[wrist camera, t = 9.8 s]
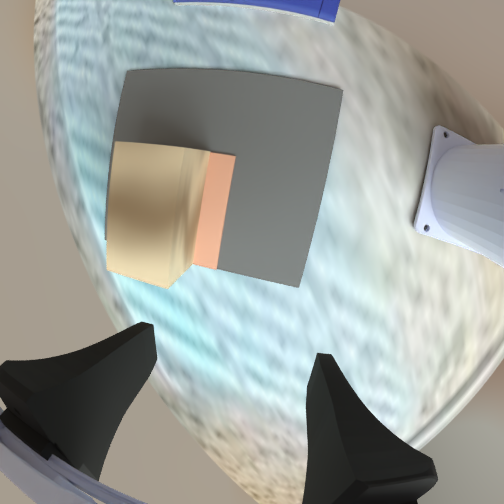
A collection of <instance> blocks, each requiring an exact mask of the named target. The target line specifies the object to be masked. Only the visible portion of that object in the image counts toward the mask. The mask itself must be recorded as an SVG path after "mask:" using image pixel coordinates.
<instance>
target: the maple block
mask: <svg viewBox="0 0 504 504" xmlns="http://www.w3.org/2000/svg"><path fill="white" fill-rule="evenodd" d="M209 156H210V151H205V150H198V149H191V148H184V147H176V146H167V145H157V144H146V143H134V142H119V141H115V146H114V153H113V160H112V169H111V178H110V188H109V201H108V217H107V270H108V271H111V272H114V273H118V274H121V275H124V276H127V277H130V278H133V279H136V280H139V281H143V282H146V283H149V284H152V285H156V286H159V287H162V288H166V289H168V288H169V287H170V286H171V285H172V284H173V283H174V282H175V281H176V280H177V279H178V278H179V277H180V276H181V275H182V274H183V273H184V272H185V271H186V270H187V269H188V268H189V267H190V266H191V265H192V264H193V261H194V253H195V245H196V238H197V231H198V224H199V217H200V210H201V204H202V197H203V191H204V185H205V179H206V173H207V167H208V162H209Z"/></svg>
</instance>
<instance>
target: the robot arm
mask: <svg viewBox="0 0 504 504" xmlns="http://www.w3.org/2000/svg"><path fill="white" fill-rule="evenodd" d="M444 132H445V133H446V136H447V137H446V138H445V137H444V134H443V133H444ZM426 224H427V229H426V230H424V226H425V225H426ZM414 229H415V231H417V232H418V233H421V234H424V235H427V236H430V237H433V238H436V239H439V240H442V241H445V242H448V243H451V244H454V245H457V246H460V247H463V248H466V249H468V250H471V251H474V252H477V253H479V254H482V255H483V256H485V257H487V258H488V259H490V260H491V261H493V262H495V263H496V264H498V265H499V266H501V267H502V268H504V144H479V145H477V144H475V143H473V142H472V141H470V140H468V139H466V138H464V137H462V136H460V135H459V134H457V133H455V132H453V131H451V130H449V129H447V128H445V127H443V126H440V125H439V126H435V127H434V129H433V135H432V142H431V148H430V154H429V160H428V166H427V171H426V176H425V180H424V185H423V189H422V194H421V198H420V202H419V206H418V210H417V214H416V217H415V221H414ZM156 361H157V352H156V344H155V335H154V326H153V324H149V323H145V322H140V323H137V324H135V325H133V326H131V327H129V328H127V329H125V330H123V331H121V332H119V333H117V334H115V335H113V336H111V337H109V338H107V339H105V340H102V341H100V342H98V343H96V344H93V345H91V346H89V347H86V348H83V349H81V350H78V351H75V352H71V353H68V354H64V355H60V356H56V357H51V358H45V359H38V360H26V361H9V360H7V361H5V362H4V363H3V364H2V365H1V366H0V397H1V399H2V401H3V402H4V404H5V405H6V407H7V409H6V410H5V411H3V410H2V408H1V407H0V471H1V472H2V473H4V475H5V476H6V477H8V479H10V481H12V482H13V483H14V484H15V485H16V486H17V487H18V488H19V489H20V490H21V491H23V492H24V493H25V494H26V495H27V496H28V497H29V498H31V499H32V500H33V501H34V502H35V503H37V504H97V503H96V502H95V501H94V500H93V499H92V498H91V497H90V496H88V495H87V494H89V495H91V496H93V497H94V498H96V499H98V500H100V501H102V502H104V503H106V504H147V503H145V502H142V501H139V500H137V499H135V498H132V497H130V496H128V495H125V494H123V493H121V492H118V491H116V490H114V489H112V488H110V487H108V486H106V485H104V484H102V483H100V482H98V481H99V477H100V474H101V471H102V467H103V464H104V460H105V458H106V455H107V452H108V449H109V447H110V444H111V442H112V439H113V437H114V435H115V433H116V430H117V428H118V426H119V424H120V422H121V420H122V418H123V416H124V414H125V412H126V411H127V409H128V408H129V406H130V405H131V403H132V402H133V400H134V398H135V397H136V396H137V394H138V392H139V391H140V390H141V388H142V387H143V385H144V383H145V382H146V381H147V379H148V377H149V376H150V374H151V372H152V370H153V368H154V365H155V363H156ZM306 419H307V437H308V461H307V472H306V481H305V489H304V496H303V502H302V504H418V503H417V499H418V498H420V497H421V496H422V495H424V494H425V493H426V492H428V491H429V490H430V489H431V488H432V487H433V486H434V485H435V484H436V482H437V481H438V477H437V473H436V469H435V465H434V463H433V460H432V458H430V457H428V456H427V455H425V454H423V453H421V452H419V451H418V450H416V449H414V448H413V447H411V446H410V445H408V444H407V443H405V442H404V441H402V440H401V439H400V438H398V437H397V436H396V435H394V434H393V433H392V432H391V431H390V430H389V429H387V428H386V427H385V426H384V425H383V424H382V423H381V422H380V421H379V420H378V419H377V418H376V417H375V416H374V415H373V414H372V413H371V412H370V411H369V410H368V409H367V407H366V406H365V405H364V404H363V402H362V401H361V400H360V398H359V397H358V396H357V394H356V393H355V392H354V390H353V389H352V387H351V386H350V384H349V383H348V381H347V380H346V378H345V376H344V375H343V373H342V371H341V370H340V368H339V366H338V365H337V363H336V361H335V359H334V358H333V356H332V355H331V354H323V353H317V355H316V359H315V362H314V366H313V369H312V373H311V376H310V379H309V382H308V385H307V396H306ZM76 487H77V488H76ZM79 489H80V490H79ZM81 490H82V491H83V492H82V491H81ZM84 492H85V493H87V494H85V493H84Z"/></svg>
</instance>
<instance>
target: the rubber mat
mask: <svg viewBox="0 0 504 504" xmlns="http://www.w3.org/2000/svg"><path fill="white" fill-rule="evenodd" d="M342 94H343V90H340V89H336V88H333V87H329V86H324V85H320V84H316V83H311V82H307V81H302V80H297V79H291V78H285V77H280V76H273V75H266V74H259V73H251V72H241V71H230V70H216V69H183V68H179V69H147V70H133V71H127V74H126V78H125V82H124V86H123V90H122V94H121V99H120V104H119V109H118V114H117V119H116V124H115V130H114V136H113V143H112V150H111V157H110V166H109V175H108V185H107V198H106V216H105V240H107V217H108V201H109V188H110V178H111V169H112V160H113V153H114V146H115V141H119V142H134V143H146V144H157V145H167V146H176V147H184V148H191V149H198V150H205V151H210V152H212V153H218V154H225V155H231V156H236V159H235V164H234V170H233V175H232V181H231V186H230V192H229V198H228V203H227V209H226V215H225V221H224V227H223V233H222V239H221V246H220V252H219V258H218V265H217V269H220V270H224V271H228V272H232V273H236V274H241V275H245V276H249V277H253V278H258V279H262V280H266V281H271V282H275V283H280V284H284V285H288V286H293V287H297V288H299V285H300V282H301V278H302V275H303V271H304V267H305V264H306V260H307V256H308V252H309V248H310V245H311V241H312V237H313V233H314V229H315V225H316V221H317V217H318V212H319V208H320V204H321V200H322V195H323V191H324V187H325V182H326V177H327V173H328V168H329V163H330V159H331V154H332V149H333V144H334V139H335V134H336V128H337V123H338V117H339V112H340V106H341V100H342Z"/></svg>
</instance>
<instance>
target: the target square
mask: <svg viewBox="0 0 504 504" xmlns="http://www.w3.org/2000/svg"><path fill="white" fill-rule="evenodd" d="M235 159H236V156H231V155H225V154H218V153H212V152H210V156H209V162H208V167H207V173H206V179H205V185H204V191H203V197H202V204H201V210H200V217H199V224H198V231H197V238H196V245H195V253H194V261H193V264H195V265H199V266H203V267H207V268H211V269H215V270H216V269H217V265H218V258H219V252H220V246H221V239H222V233H223V227H224V221H225V215H226V209H227V203H228V198H229V192H230V186H231V181H232V175H233V170H234V164H235Z"/></svg>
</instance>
